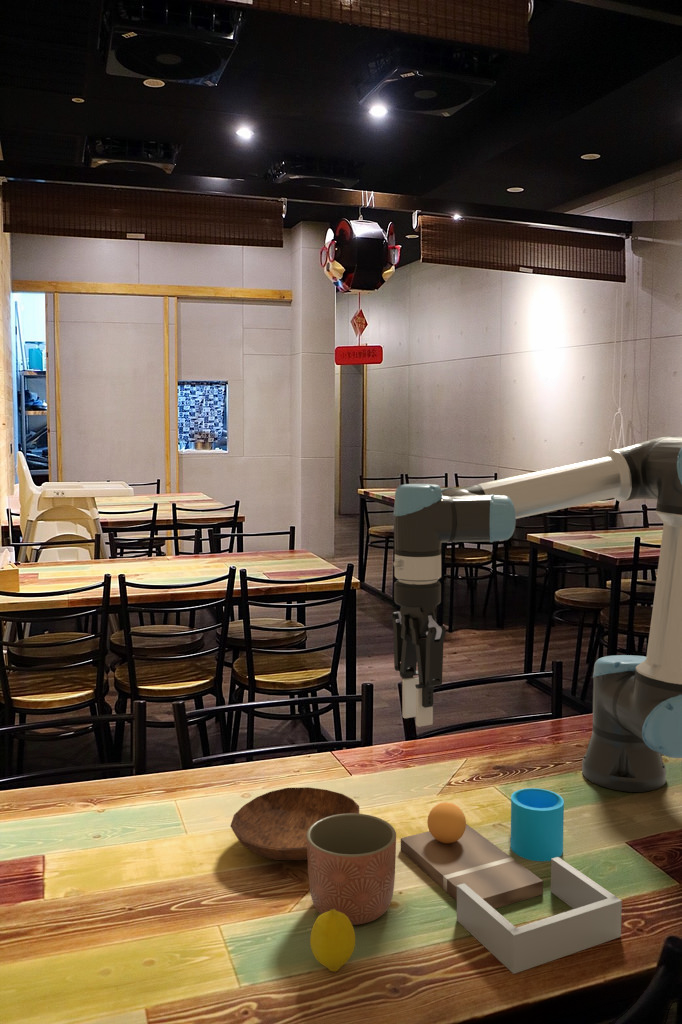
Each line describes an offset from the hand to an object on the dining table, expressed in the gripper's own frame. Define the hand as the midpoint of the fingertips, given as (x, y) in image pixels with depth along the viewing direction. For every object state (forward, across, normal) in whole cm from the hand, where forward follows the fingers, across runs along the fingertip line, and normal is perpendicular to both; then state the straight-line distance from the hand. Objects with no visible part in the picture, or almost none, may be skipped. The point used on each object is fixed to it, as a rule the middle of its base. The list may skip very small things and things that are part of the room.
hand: (417, 720), depth 139 cm
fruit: (+19, +27, -28) cm, 43 cm away
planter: (+19, +16, -20) cm, 32 cm away
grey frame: (+19, +31, 0) cm, 36 cm away
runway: (+19, +15, 0) cm, 24 cm away
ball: (+14, +9, 0) cm, 16 cm away
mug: (+19, +12, +14) cm, 26 cm away
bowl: (+19, -4, -20) cm, 28 cm away
